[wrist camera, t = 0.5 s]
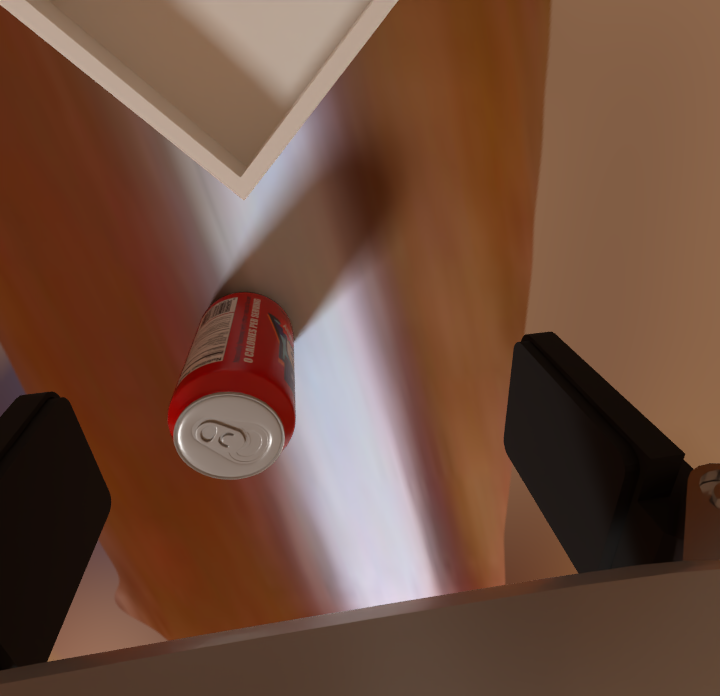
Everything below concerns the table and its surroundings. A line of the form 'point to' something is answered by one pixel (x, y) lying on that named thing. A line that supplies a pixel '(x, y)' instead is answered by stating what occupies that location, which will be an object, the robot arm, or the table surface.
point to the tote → (212, 66)
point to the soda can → (236, 389)
